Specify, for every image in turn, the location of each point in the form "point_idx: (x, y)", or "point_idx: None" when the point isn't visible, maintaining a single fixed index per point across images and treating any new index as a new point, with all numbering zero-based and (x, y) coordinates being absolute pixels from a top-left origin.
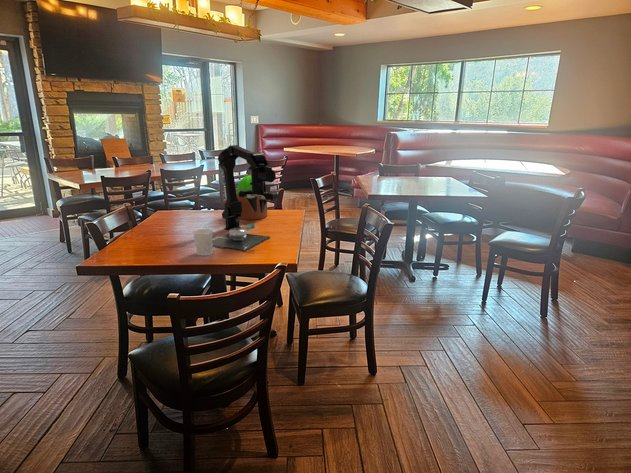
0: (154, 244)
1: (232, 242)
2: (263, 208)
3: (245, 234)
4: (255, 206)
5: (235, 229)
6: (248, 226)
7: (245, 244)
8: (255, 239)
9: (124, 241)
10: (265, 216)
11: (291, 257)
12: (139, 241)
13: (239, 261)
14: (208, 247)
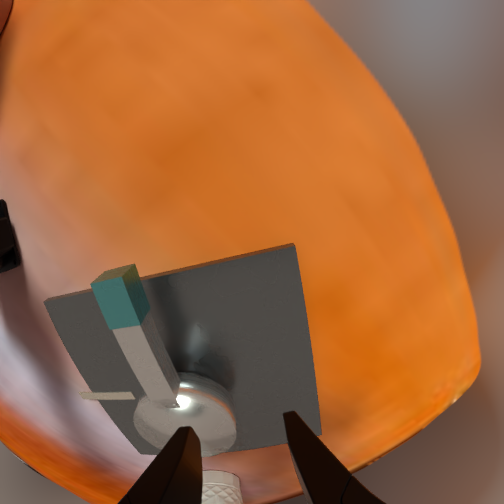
0: (59, 460)
1: None
2: (327, 458)
3: (232, 408)
4: (185, 500)
5: (164, 430)
6: (154, 355)
7: (275, 409)
8: (258, 342)
9: (18, 451)
10: (10, 4)
11: (474, 357)
12: (26, 449)
13: (355, 459)
14: (242, 500)
